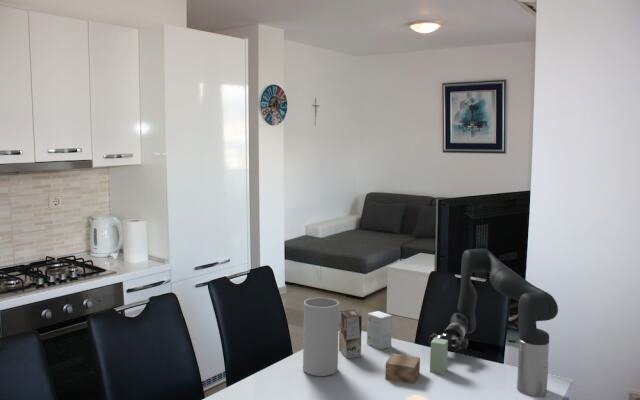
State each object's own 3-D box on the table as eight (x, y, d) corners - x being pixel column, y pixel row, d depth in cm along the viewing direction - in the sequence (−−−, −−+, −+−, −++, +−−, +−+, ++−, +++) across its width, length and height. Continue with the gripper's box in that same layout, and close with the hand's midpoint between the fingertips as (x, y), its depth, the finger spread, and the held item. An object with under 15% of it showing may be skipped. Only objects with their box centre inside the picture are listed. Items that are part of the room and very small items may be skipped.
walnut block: (419, 373, 201) (420, 357, 200) (413, 384, 191) (414, 367, 191) (392, 369, 204) (392, 353, 204) (385, 379, 195) (385, 363, 195)
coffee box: (361, 356, 215) (362, 316, 214) (346, 358, 213) (346, 317, 212) (353, 348, 224) (354, 309, 222) (338, 350, 222) (338, 310, 221)
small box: (391, 346, 227) (392, 315, 226) (380, 349, 223) (381, 318, 222) (377, 340, 233) (378, 310, 232) (366, 344, 229) (367, 313, 228)
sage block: (446, 369, 205) (448, 340, 203) (443, 374, 200) (444, 344, 199) (433, 366, 207) (434, 337, 206) (429, 371, 202) (430, 342, 201)
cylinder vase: (342, 367, 205) (344, 300, 203) (329, 379, 194) (330, 309, 191) (312, 361, 210) (313, 296, 208) (296, 373, 199) (297, 304, 197)
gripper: (436, 322, 227) (425, 333, 212) (472, 327, 220) (463, 340, 206) (436, 340, 227) (425, 353, 213) (471, 346, 221) (463, 359, 207)
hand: (444, 346), depth 209 cm, fingers open, 8 cm apart
